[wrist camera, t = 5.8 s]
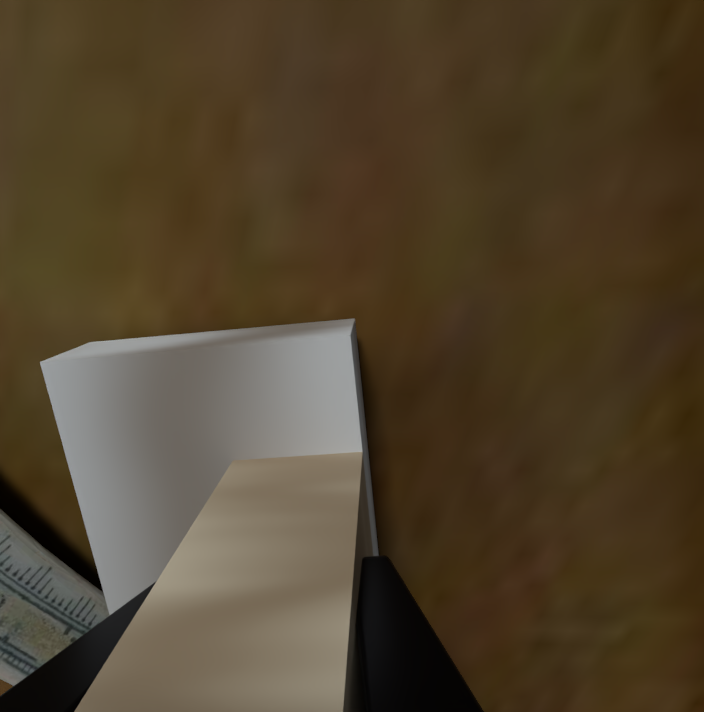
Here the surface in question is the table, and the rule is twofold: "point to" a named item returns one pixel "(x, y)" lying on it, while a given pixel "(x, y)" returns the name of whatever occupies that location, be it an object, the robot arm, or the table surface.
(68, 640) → the ceramic fragment
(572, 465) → the table surface
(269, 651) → the plate with square post
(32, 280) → the table surface
